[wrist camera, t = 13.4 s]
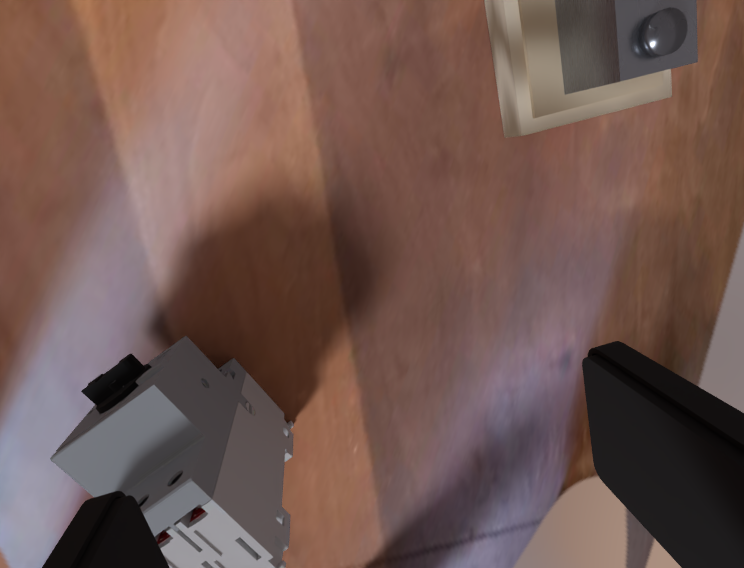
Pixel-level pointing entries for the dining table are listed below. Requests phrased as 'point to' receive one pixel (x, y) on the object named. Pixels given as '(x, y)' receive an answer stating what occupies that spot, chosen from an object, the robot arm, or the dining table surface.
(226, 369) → the circuit breaker
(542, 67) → the stand
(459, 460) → the dining table surface
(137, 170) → the dining table surface
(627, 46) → the housing
